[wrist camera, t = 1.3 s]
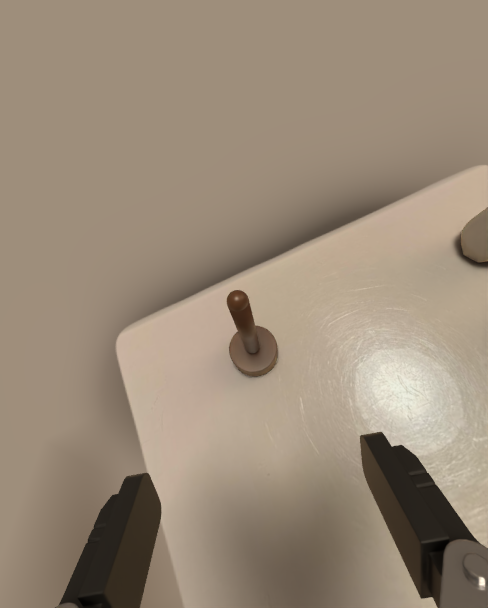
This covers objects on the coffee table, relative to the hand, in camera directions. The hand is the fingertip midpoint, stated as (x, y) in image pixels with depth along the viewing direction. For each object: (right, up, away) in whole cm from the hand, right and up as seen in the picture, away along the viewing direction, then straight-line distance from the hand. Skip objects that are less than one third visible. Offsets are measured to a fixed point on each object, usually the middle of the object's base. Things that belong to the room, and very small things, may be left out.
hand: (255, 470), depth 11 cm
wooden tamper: (+1, 0, +23) cm, 23 cm away
